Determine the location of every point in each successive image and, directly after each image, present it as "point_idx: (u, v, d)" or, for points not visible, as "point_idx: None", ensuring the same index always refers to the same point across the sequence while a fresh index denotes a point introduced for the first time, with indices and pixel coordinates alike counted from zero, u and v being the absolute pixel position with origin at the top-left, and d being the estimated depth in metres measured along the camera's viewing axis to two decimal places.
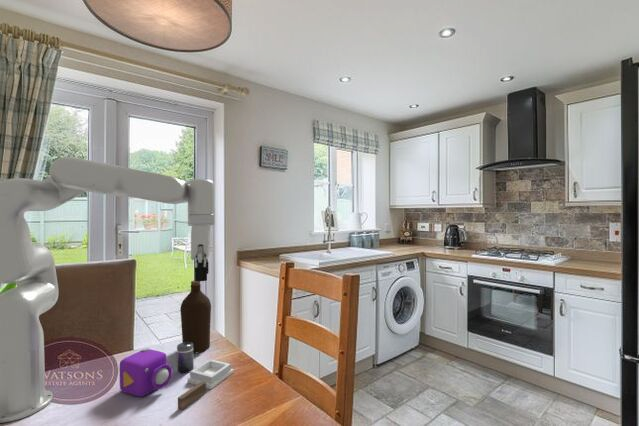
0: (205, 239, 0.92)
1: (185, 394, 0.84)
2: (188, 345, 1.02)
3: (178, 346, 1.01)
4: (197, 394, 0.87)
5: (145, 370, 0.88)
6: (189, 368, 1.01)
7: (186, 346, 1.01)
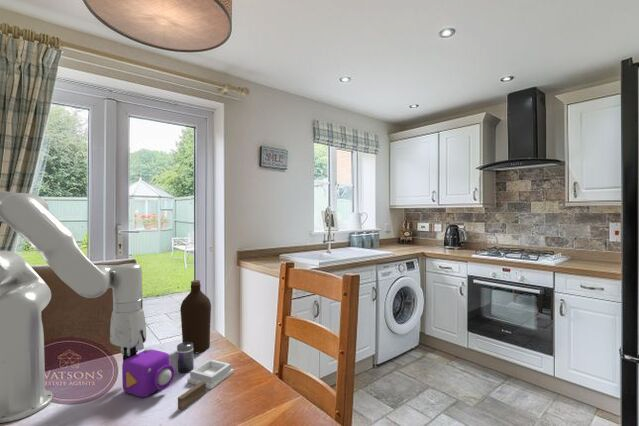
0: (144, 323, 0.94)
1: (185, 394, 0.84)
2: (188, 345, 1.02)
3: (178, 346, 1.01)
4: (197, 394, 0.87)
5: (148, 370, 0.87)
6: (189, 368, 1.01)
7: (186, 346, 1.01)
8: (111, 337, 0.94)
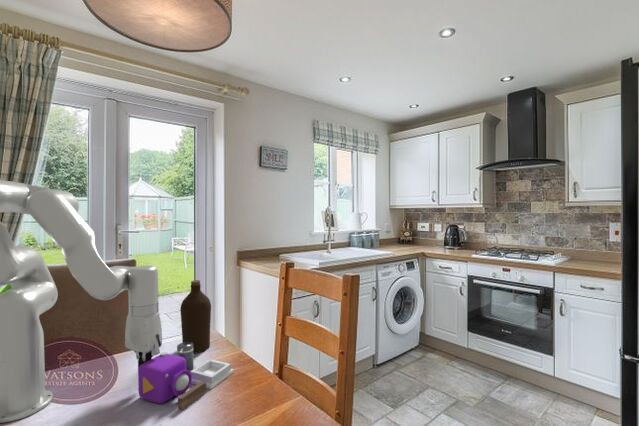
0: (160, 327, 0.92)
1: (185, 394, 0.84)
2: (188, 345, 1.02)
3: (178, 346, 1.01)
4: (197, 394, 0.87)
5: (165, 376, 0.84)
6: (189, 368, 1.01)
7: (186, 346, 1.01)
8: (126, 341, 0.91)
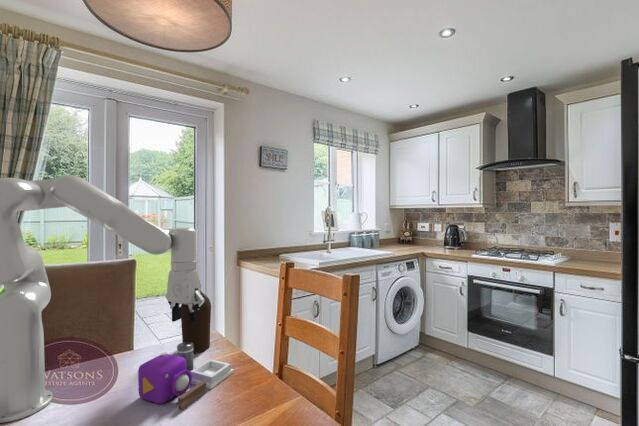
0: (198, 282, 1.02)
1: (185, 394, 0.84)
2: (188, 345, 1.02)
3: (178, 346, 1.01)
4: (197, 394, 0.87)
5: (165, 376, 0.84)
6: (189, 368, 1.01)
7: (186, 346, 1.01)
8: (168, 295, 1.01)
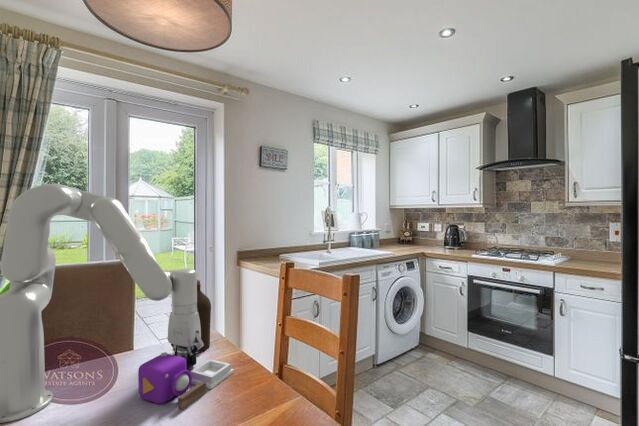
0: (199, 324, 1.02)
1: (185, 394, 0.84)
2: None
3: (178, 346, 1.01)
4: (197, 394, 0.87)
5: (165, 376, 0.84)
6: (189, 368, 1.01)
7: None
8: (169, 337, 1.02)
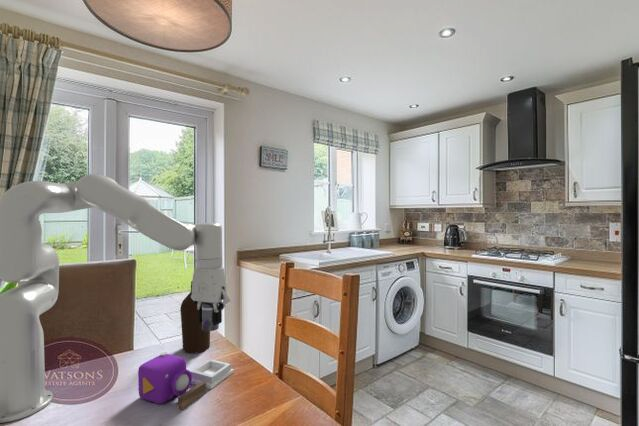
0: (224, 280, 0.97)
1: (185, 394, 0.84)
2: None
3: (203, 303, 0.96)
4: (197, 394, 0.87)
5: (165, 376, 0.84)
6: (214, 326, 0.96)
7: (211, 303, 0.96)
8: (193, 293, 0.96)
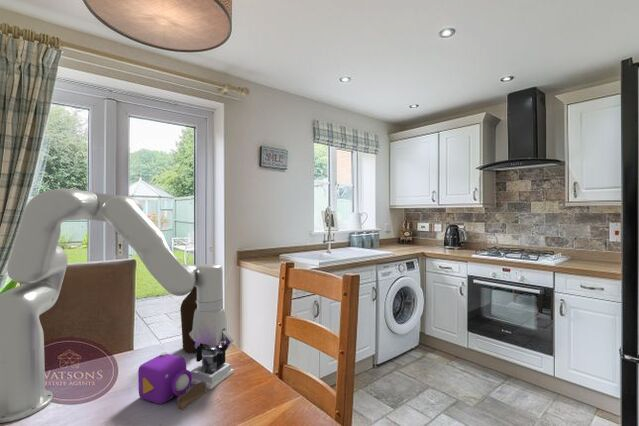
0: (225, 322, 0.97)
1: (185, 394, 0.84)
2: (213, 348, 0.97)
3: (203, 349, 0.97)
4: (197, 394, 0.87)
5: (165, 376, 0.84)
6: (214, 372, 0.96)
7: (211, 349, 0.97)
8: (194, 335, 0.97)
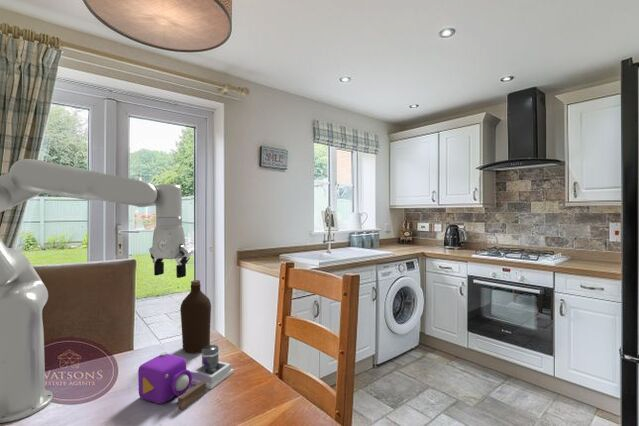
0: (183, 239, 1.02)
1: (185, 394, 0.84)
2: (213, 348, 0.97)
3: (203, 349, 0.97)
4: (197, 394, 0.87)
5: (165, 376, 0.84)
6: (214, 372, 0.96)
7: (211, 349, 0.97)
8: (153, 251, 1.01)
